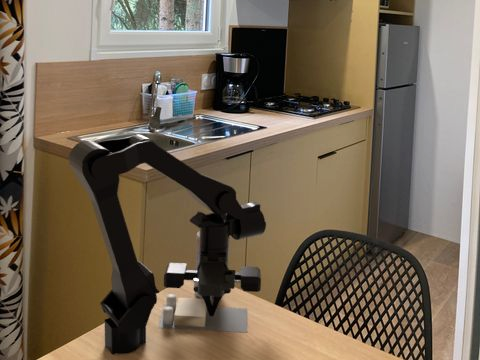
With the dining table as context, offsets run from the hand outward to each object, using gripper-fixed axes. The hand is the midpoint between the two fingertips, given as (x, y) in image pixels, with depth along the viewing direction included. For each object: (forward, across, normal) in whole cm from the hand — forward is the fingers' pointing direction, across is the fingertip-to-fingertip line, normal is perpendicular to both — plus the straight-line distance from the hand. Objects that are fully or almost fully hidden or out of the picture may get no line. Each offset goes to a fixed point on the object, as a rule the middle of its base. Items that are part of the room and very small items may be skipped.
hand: (211, 315), depth 108 cm
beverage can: (+2, -2, +10) cm, 11 cm away
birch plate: (+1, -4, 0) cm, 4 cm away
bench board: (+2, -2, 0) cm, 2 cm away
